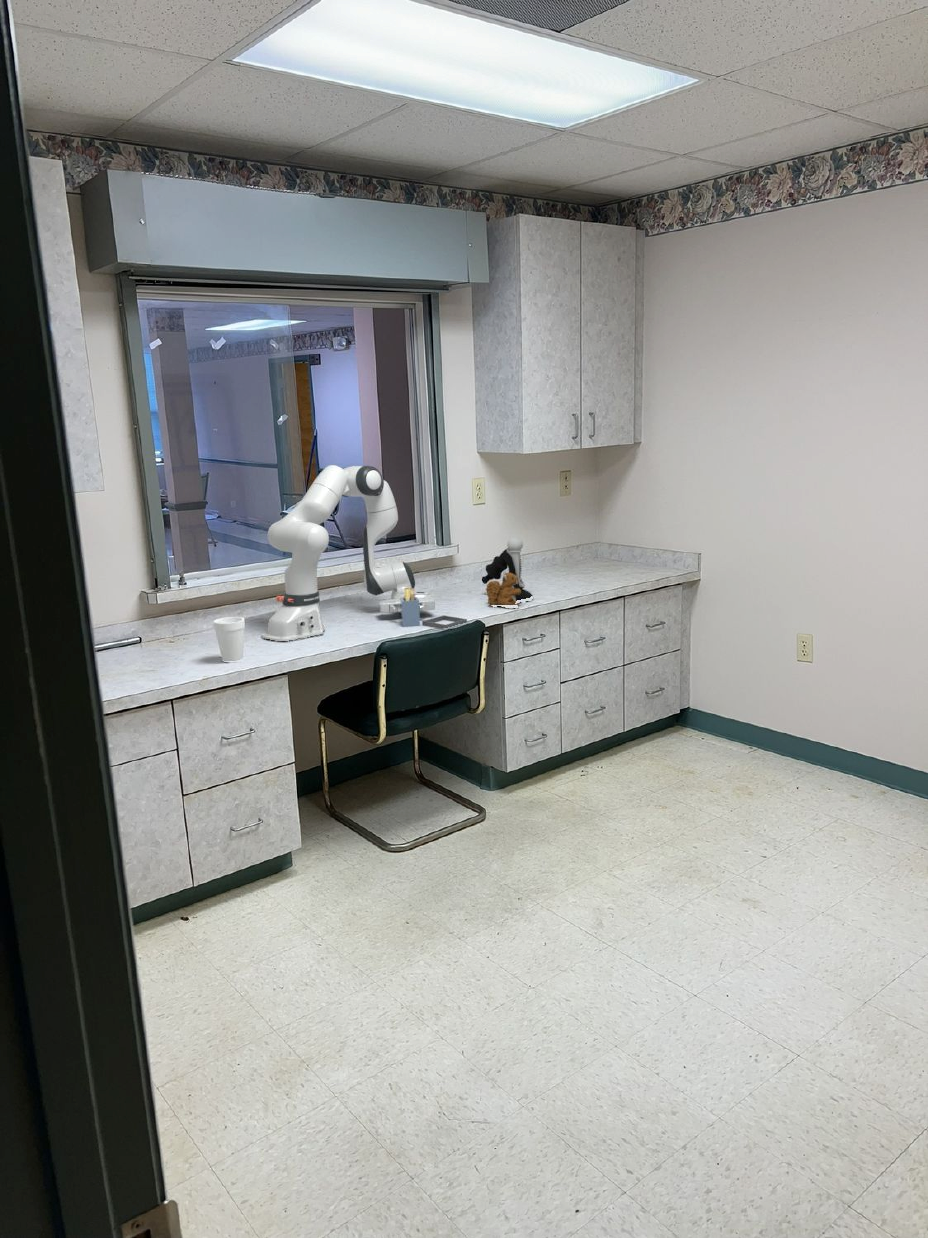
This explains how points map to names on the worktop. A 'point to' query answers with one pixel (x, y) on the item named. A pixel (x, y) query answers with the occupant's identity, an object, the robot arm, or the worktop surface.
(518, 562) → the sculpture
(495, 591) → the stuffed squirrel
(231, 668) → the worktop surface
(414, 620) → the pencil cup
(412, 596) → the wooden peg
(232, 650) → the foam cup
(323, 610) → the worktop surface
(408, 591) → the mustard peg
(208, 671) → the worktop surface
